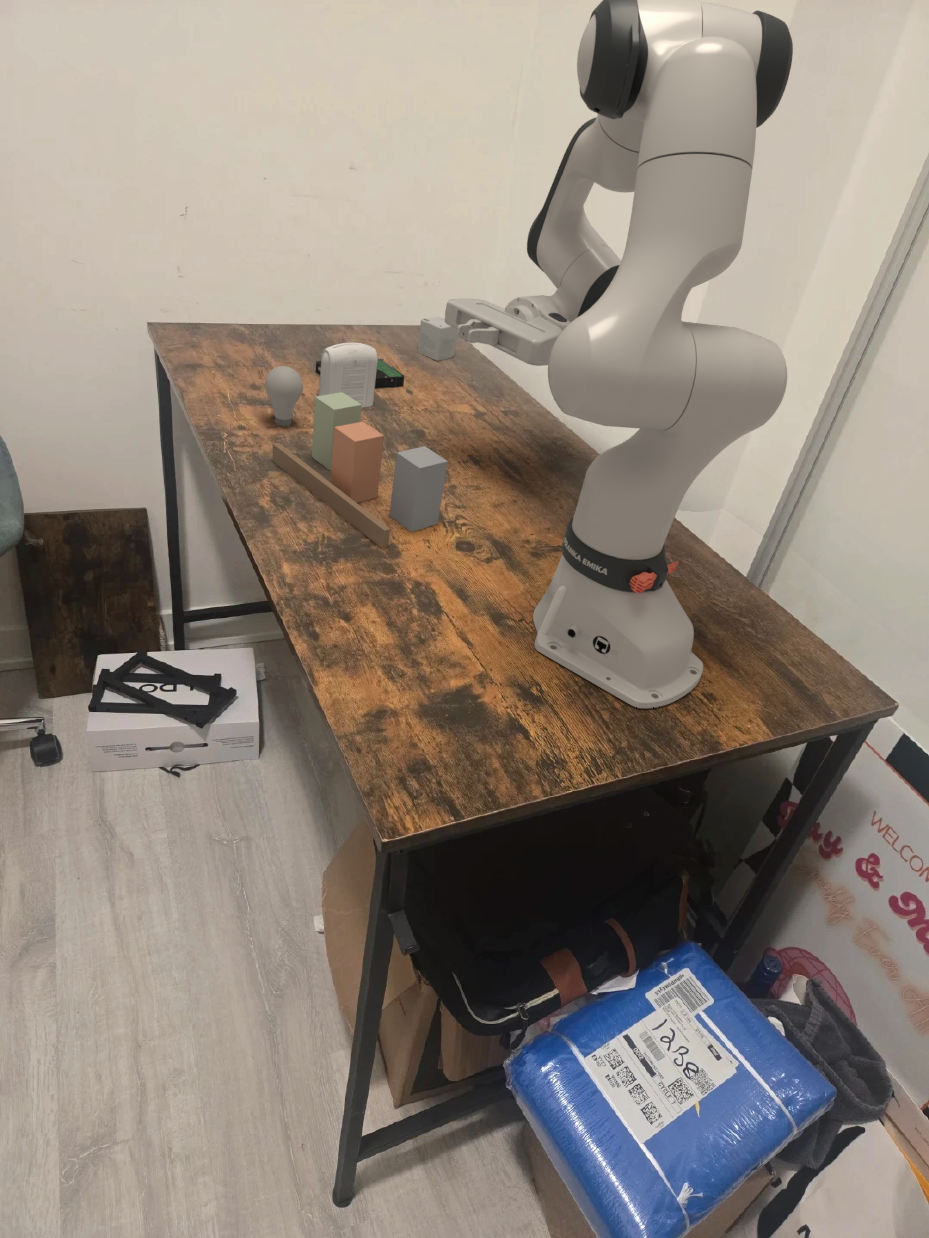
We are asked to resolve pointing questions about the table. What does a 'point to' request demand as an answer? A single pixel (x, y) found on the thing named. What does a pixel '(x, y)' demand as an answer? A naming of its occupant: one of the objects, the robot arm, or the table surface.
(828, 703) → the table surface
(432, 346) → the skincare box
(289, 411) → the lightbulb
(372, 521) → the cream board with rail
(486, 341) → the robot arm
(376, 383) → the disk drive
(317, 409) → the sage green block
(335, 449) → the terracotta rectangular block
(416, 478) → the blue-grey block
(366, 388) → the photo printer
